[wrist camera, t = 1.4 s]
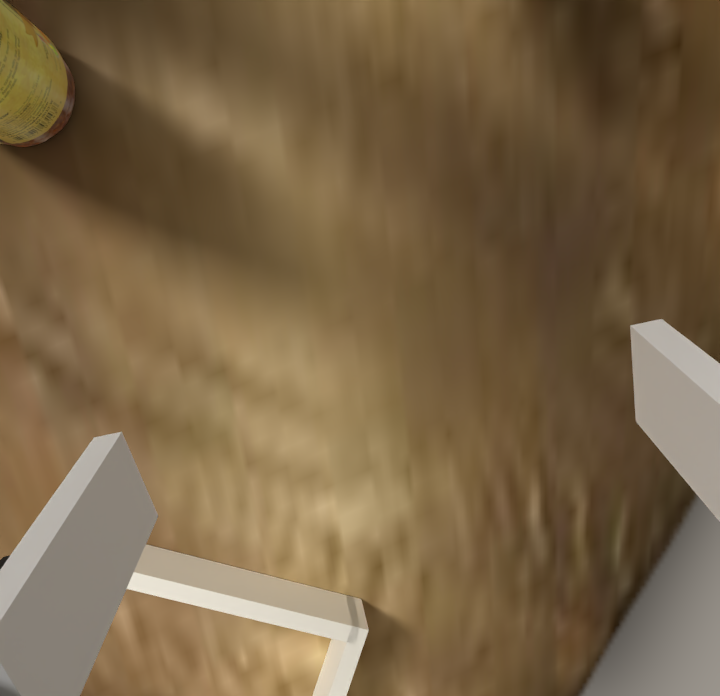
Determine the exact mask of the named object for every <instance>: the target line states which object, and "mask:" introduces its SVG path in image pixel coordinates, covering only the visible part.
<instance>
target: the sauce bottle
mask: <svg viewBox="0 0 720 696" xmlns="http://www.w3.org/2000/svg"><path fill="white" fill-rule="evenodd" d="M74 103H75V85H74V80H73V76H72V74H71V71H70V69H69V67H68V66H67V64H66V63H65V61H64V60H63V59H62V57H61V55H60V53H59V51H58V50H57V49H56V47H55V46H54V44H53V43H52V41H51V40H50V39H49V38H48V37H47V36H46V35H45V34H44V33H43V32H42V31H40V30H39V29H38V28H37V27H36V26H35V25H34V24H33V23H31V22H30V21H29V20H28V19H27V18H26V17H24V16H23V15H22V14H21V13H20V12H19V11H18V10H17V9H16V8H14V7H13V6H12V5H11V4H10V3H9V2H8V1H7V0H0V144H8V145H13V146H16V147H27V146H33V145H38V144H40V143H42V142H45V141H47V140H48V139H49V138H51V137H53V136H54V135H55V134H57V133H58V132H59V131H60V130H62V129H63V128H64V126H65V125H66V124H67V122H68V120H69V118H70V116H71V114H72V109H73V107H74Z"/></svg>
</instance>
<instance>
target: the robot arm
mask: <svg viewBox="0 0 720 696" xmlns="http://www.w3.org/2000/svg"><path fill="white" fill-rule="evenodd" d="M630 331H631V348H632V365H633V382H634V399H635V416H636V422H637V423H638V425H639V426H640V427H641V428H642V429H643V431H644V432H645V433H646V434H647V435H648V437H649V438H650V439H651V440H652V441H653V443H654V444H655V445H656V446H657V447H658V449H659V450H660V451H661V452H662V453H663V455H664V456H665V457H666V458H667V459H668V461H669V462H670V463H671V464H672V465H673V467H674V468H675V469H676V470H677V471H678V473H679V474H680V475H681V476H682V477H683V479H684V480H685V481H686V482H687V483H688V485H689V486H690V487H691V488H692V489H693V491H694V492H695V493H696V494H697V495H698V496H699V498H700V499H701V500H702V501H703V502H704V504H705V505H706V506H707V507H708V508H709V510H710V511H711V512H712V513H713V514H714V516H715V517H716V518H717V519H718V520H719V522H720V364H719V363H718V362H717V361H716V360H714V359H713V358H712V357H710V356H709V355H708V354H707V353H705V352H704V351H703V350H701V349H700V348H699V347H697V346H696V345H695V344H694V343H692V342H691V341H690V340H688V339H687V338H686V337H684V336H683V335H682V334H681V333H679V332H678V331H677V330H675V329H674V328H673V327H672V326H670V325H669V324H668V323H666V322H665V321H664V320H662V319H659V320H654V321H650V322H645V323H640V324H635V325H630ZM157 518H158V514H157V512H156V510H155V507H154V505H153V503H152V500H151V498H150V496H149V494H148V491H147V489H146V487H145V484H144V482H143V480H142V477H141V475H140V473H139V470H138V468H137V466H136V464H135V461H134V459H133V457H132V454H131V452H130V450H129V447H128V445H127V443H126V440H125V438H124V436H123V434H122V432H119V433H114V434H109V435H104V436H99V437H95V438H93V440H92V441H91V442H90V444H89V445H88V447H87V448H86V450H85V451H84V452H83V454H82V455H81V457H80V458H79V459H78V461H77V462H76V464H75V465H74V466H73V468H72V469H71V471H70V472H69V473H68V475H67V476H66V478H65V479H64V481H63V482H62V483H61V485H60V486H59V488H58V489H57V490H56V492H55V493H54V495H53V496H52V497H51V499H50V500H49V502H48V503H47V505H46V506H45V507H44V509H43V510H42V512H41V513H40V514H39V516H38V517H37V519H36V520H35V521H34V523H33V524H32V526H31V527H30V528H29V530H28V531H27V533H26V534H25V536H24V537H23V538H22V540H21V541H20V543H19V544H18V545H17V547H16V548H15V550H14V551H13V552H12V554H11V555H10V556H6V557H3V558H2V559H1V560H0V696H80V694H81V692H82V690H83V687H84V685H85V683H86V680H87V678H88V676H89V674H90V671H91V669H92V667H93V664H94V662H95V660H96V658H97V655H98V653H99V651H100V648H101V646H102V644H103V641H104V639H105V637H106V635H107V632H108V630H109V628H110V625H111V623H112V621H113V618H114V616H115V614H116V612H117V609H118V607H119V605H120V602H121V600H122V598H123V596H124V593H125V591H126V589H127V586H128V584H129V582H130V579H131V577H132V575H133V573H134V570H135V568H136V566H137V563H138V561H139V559H140V557H141V554H142V552H143V550H144V547H145V545H146V543H147V540H148V538H149V536H150V534H151V531H152V529H153V527H154V524H155V522H156V520H157Z"/></svg>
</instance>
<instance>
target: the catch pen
mask: <svg viewBox="0 0 720 696" xmlns="http://www.w3.org/2000/svg"><path fill="white" fill-rule="evenodd" d="M127 589H130V590H134V591H138V592H142V593H146V594H150V595H154V596H158V597H163V598H167V599H171V600H175V601H179V602H183V603H187V604H191V605H196V606H200V607H204V608H208V609H212V610H216V611H220V612H224V613H228V614H233V615H237V616H241V617H245V618H249V619H253V620H257V621H261V622H266V623H270V624H274V625H278V626H282V627H286V628H290V629H294V630H298V631H303V632H307V633H311V634H315V635H319V636H323V637H327V638H331V642H330V645H329V648H328V651H327V654H326V657H325V660H324V663H323V666H322V669H321V672H320V675H319V678H318V681H317V684H316V687H315V690H314V692H313V695H312V696H346V695H347V693H348V690H349V687H350V684H351V681H352V678H353V675H354V672H355V669H356V666H357V663H358V660H359V657H360V654H361V651H362V648H363V645H364V643H365V640H366V637H367V634H368V631H369V629H368V625H367V621H366V617H365V612H364V608H363V604H362V600H361V599H359V598H355V597H351V596H347V595H343V594H340V593H336V592H332V591H328V590H324V589H320V588H316V587H312V586H308V585H304V584H300V583H296V582H292V581H288V580H284V579H281V578H277V577H273V576H269V575H265V574H261V573H257V572H253V571H249V570H245V569H241V568H237V567H233V566H229V565H225V564H222V563H218V562H214V561H210V560H206V559H202V558H198V557H194V556H190V555H186V554H182V553H178V552H174V551H170V550H166V549H163V548H159V547H155V546H151V545H147V544H146V545H145V547H144V550H143V552H142V554H141V557H140V559H139V561H138V563H137V566H136V568H135V570H134V573H133V575H132V577H131V579H130V582H129V584H128V586H127Z"/></svg>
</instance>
